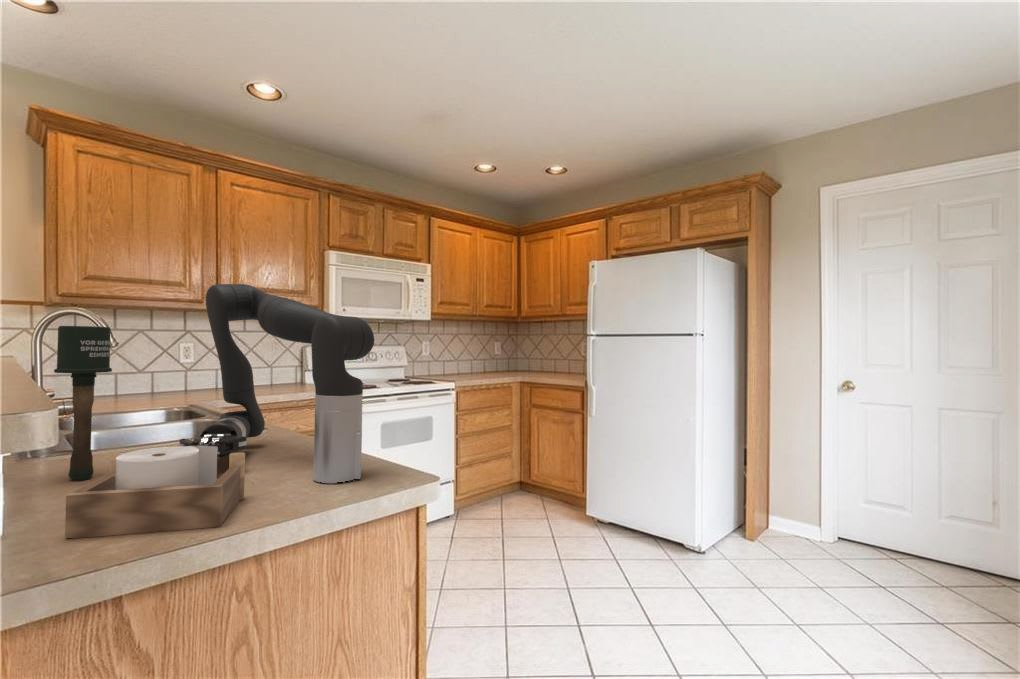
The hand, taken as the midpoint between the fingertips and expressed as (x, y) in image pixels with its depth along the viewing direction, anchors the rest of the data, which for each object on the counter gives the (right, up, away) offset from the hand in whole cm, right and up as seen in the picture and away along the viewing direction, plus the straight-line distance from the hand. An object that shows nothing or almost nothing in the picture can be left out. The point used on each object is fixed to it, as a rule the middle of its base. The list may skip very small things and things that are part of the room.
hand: (200, 453), depth 94 cm
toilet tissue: (+4, -6, -17) cm, 18 cm away
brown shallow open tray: (+5, -6, -17) cm, 19 cm away
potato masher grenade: (-25, -6, +2) cm, 26 cm away
